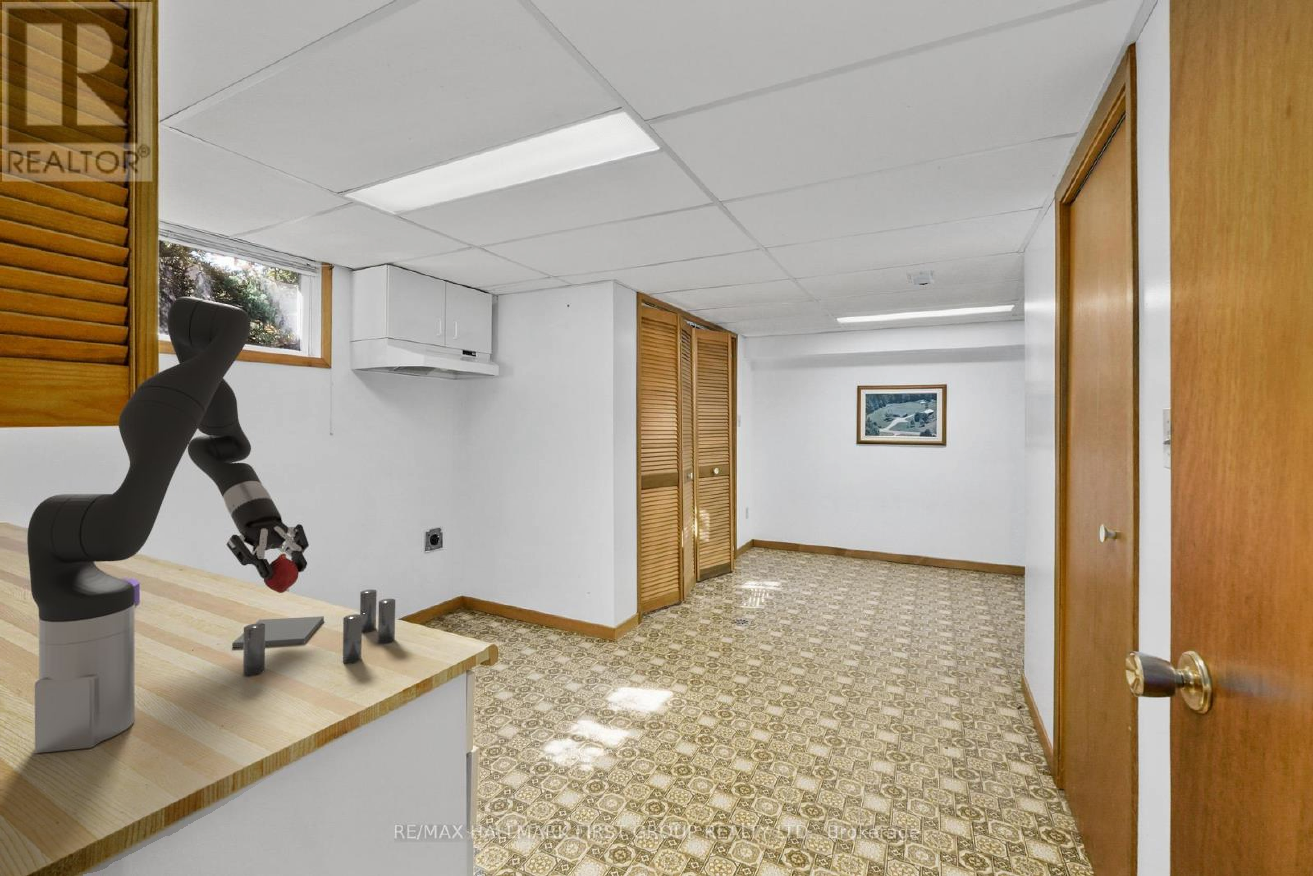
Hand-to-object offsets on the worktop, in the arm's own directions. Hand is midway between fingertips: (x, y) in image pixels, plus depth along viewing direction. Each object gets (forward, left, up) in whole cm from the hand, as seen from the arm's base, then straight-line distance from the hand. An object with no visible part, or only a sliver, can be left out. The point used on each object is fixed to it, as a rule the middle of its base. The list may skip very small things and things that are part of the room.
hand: (286, 573), depth 110 cm
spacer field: (-8, -10, -13) cm, 18 cm away
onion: (+1, +1, -4) cm, 5 cm away
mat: (+1, +1, -13) cm, 13 cm away
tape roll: (+23, +43, -13) cm, 51 cm away
